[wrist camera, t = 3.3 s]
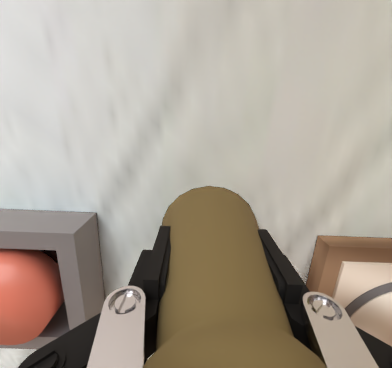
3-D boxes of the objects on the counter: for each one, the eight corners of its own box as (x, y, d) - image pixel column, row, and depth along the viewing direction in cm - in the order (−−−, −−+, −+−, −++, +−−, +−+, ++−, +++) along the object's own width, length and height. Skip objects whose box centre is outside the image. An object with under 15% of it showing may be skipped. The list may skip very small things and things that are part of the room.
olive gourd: (200, 286, 14) (214, 736, 4) (141, 223, 13) (-88, 662, 2) (274, 239, 13) (575, 677, 3) (219, 165, 12) (406, 492, 1)
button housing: (-37, 207, 13) (-92, 227, 10) (96, 212, 13) (73, 233, 10) (-6, 310, 15) (-45, 346, 12) (106, 313, 15) (89, 350, 13)
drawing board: (317, 235, 13) (334, 250, 12) (485, 241, 13) (522, 257, 12) (286, 367, 17) (295, 392, 15) (419, 370, 17) (442, 395, 15)
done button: (-33, 242, 12) (-73, 263, 10) (61, 245, 12) (38, 267, 10) (-11, 314, 13) (-42, 343, 11) (72, 317, 13) (54, 346, 11)
